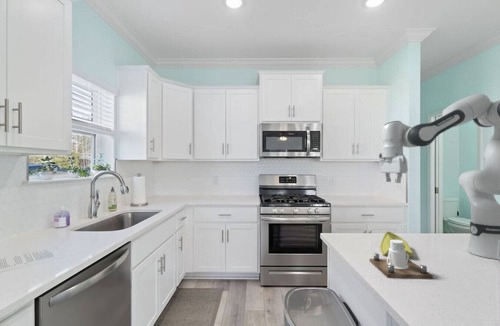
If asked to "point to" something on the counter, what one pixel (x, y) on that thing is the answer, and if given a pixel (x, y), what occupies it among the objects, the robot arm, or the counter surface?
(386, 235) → the plastic component
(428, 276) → the pin board
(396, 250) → the recessed downlight
